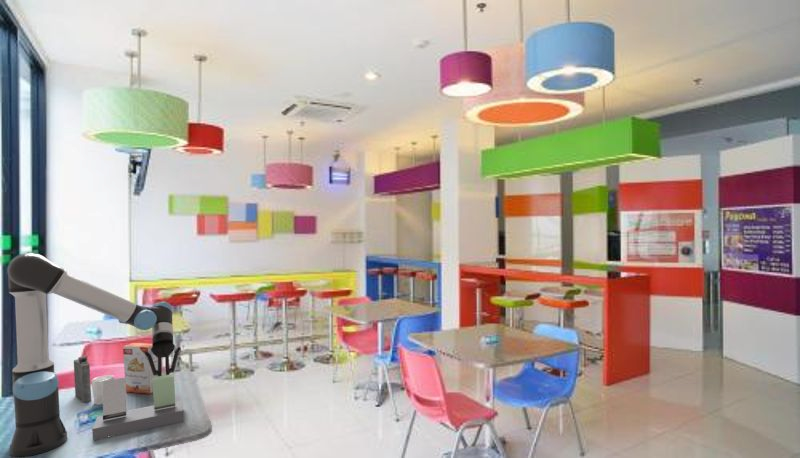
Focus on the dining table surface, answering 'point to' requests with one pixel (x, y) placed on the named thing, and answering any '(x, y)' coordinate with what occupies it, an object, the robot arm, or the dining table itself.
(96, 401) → the white cup
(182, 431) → the dining table surface
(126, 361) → the cracker box
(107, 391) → the light grey rectangular slab
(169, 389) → the pale green flat slab
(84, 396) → the flask
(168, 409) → the panel
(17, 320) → the robot arm
